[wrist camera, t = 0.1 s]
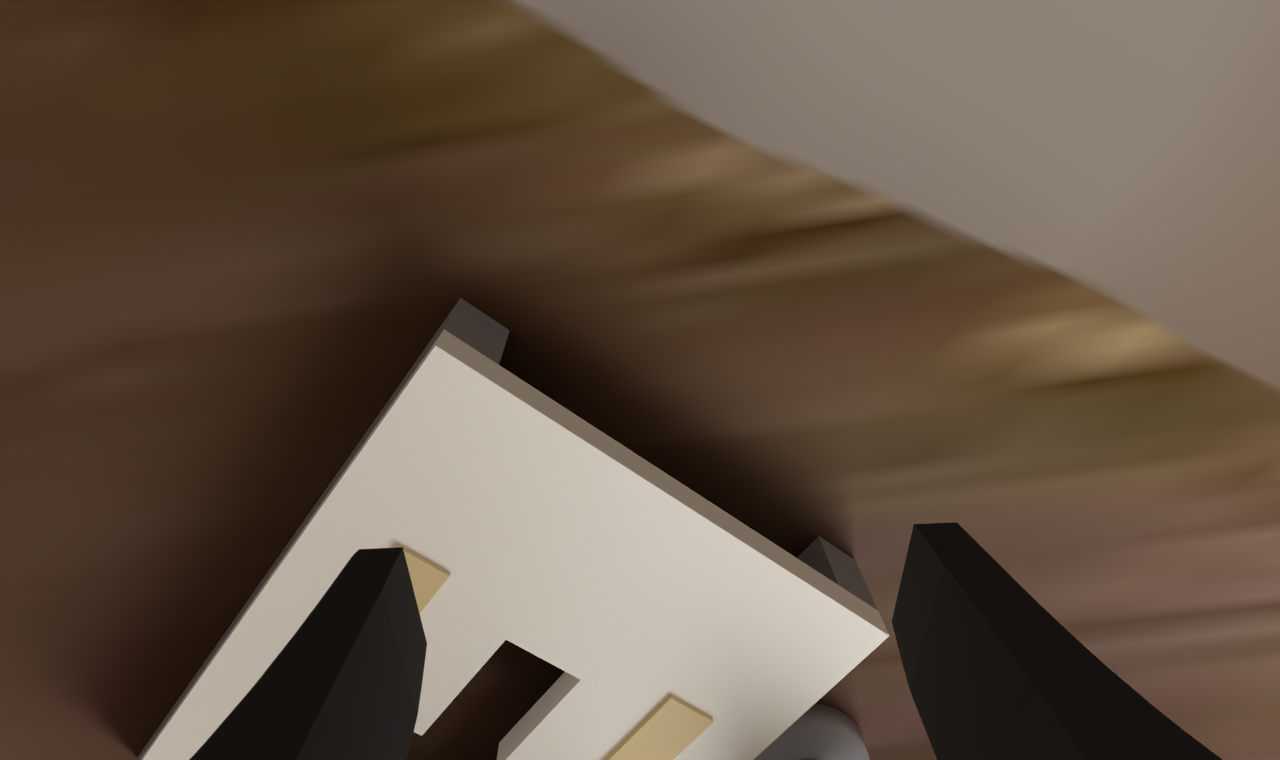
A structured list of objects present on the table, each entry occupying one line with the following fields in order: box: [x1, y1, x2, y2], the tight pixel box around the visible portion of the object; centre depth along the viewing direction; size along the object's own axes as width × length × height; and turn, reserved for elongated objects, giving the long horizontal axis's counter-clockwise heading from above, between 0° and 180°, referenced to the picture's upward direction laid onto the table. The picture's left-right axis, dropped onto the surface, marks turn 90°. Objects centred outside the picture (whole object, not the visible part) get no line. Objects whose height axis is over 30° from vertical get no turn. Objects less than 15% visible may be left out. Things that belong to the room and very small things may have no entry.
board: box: [136, 298, 889, 760], centre depth 24 cm, size 20×14×4 cm
